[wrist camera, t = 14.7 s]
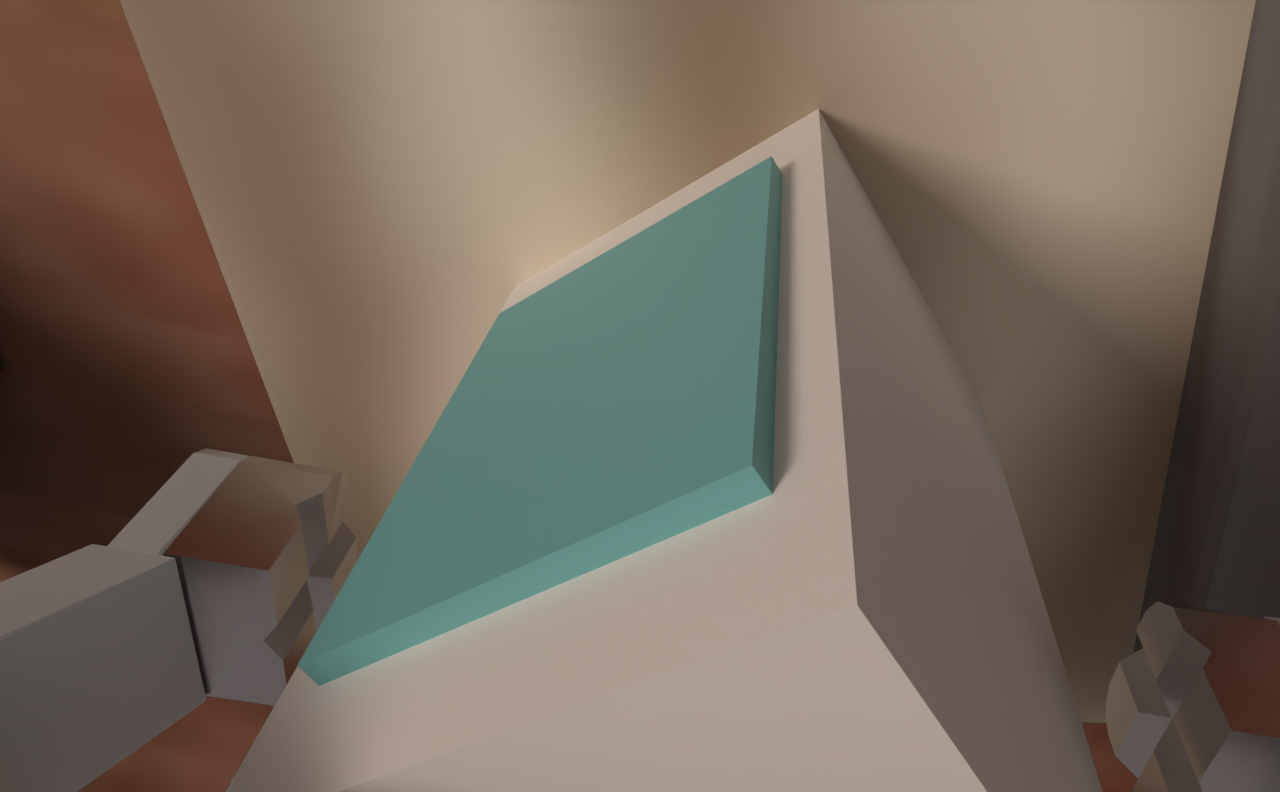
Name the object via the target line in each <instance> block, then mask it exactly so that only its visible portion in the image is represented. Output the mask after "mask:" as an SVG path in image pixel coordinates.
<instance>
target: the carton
mask: <svg viewBox="0 0 1280 792" xmlns="http://www.w3.org/2000/svg"><path fill="white" fill-rule="evenodd" d="M226 792H1103V791H1102V787H1101V784H1100V781H1099V778H1098V774H1097V771H1096V768H1095V765H1094V762H1093V758H1092V755H1091V752H1090V749H1089V746H1088V742H1087V739H1086V736H1085V733H1084V729H1083V726H1082V723H1081V720H1080V717H1079V713H1078V710H1077V707H1076V704H1075V700H1074V697H1073V694H1072V691H1071V688H1070V684H1069V681H1068V678H1067V675H1066V672H1065V668H1064V665H1063V662H1062V659H1061V655H1060V652H1059V649H1058V646H1057V643H1056V639H1055V636H1054V633H1053V630H1052V626H1051V623H1050V620H1049V617H1048V614H1047V610H1046V607H1045V604H1044V601H1043V598H1042V594H1041V591H1040V588H1039V585H1038V581H1037V578H1036V575H1035V572H1034V569H1033V565H1032V562H1031V559H1030V556H1029V553H1028V549H1027V546H1026V543H1025V540H1024V536H1023V533H1022V530H1021V527H1020V524H1019V520H1018V517H1017V514H1016V511H1015V507H1014V504H1013V501H1012V498H1011V495H1010V491H1009V488H1008V485H1007V482H1006V479H1005V475H1004V472H1003V469H1002V466H1001V462H1000V459H999V456H998V453H997V450H996V446H995V443H994V440H993V437H992V433H991V430H990V427H989V424H988V421H987V417H986V414H985V411H984V408H983V405H982V401H981V399H980V397H979V396H978V394H977V392H976V390H975V388H974V387H973V385H972V383H971V381H970V380H969V378H968V376H967V374H966V372H965V371H964V369H963V367H962V365H961V363H960V362H959V360H958V358H957V356H956V354H955V353H954V351H953V349H952V347H951V345H950V344H949V342H948V340H947V338H946V336H945V335H944V333H943V331H942V329H941V327H940V326H939V324H938V322H937V320H936V318H935V317H934V315H933V313H932V311H931V309H930V308H929V306H928V304H927V302H926V301H925V299H924V297H923V295H922V293H921V292H920V290H919V288H918V286H917V284H916V283H915V281H914V279H913V277H912V275H911V274H910V272H909V270H908V268H907V266H906V265H905V263H904V261H903V259H902V257H901V256H900V254H899V252H898V250H897V248H896V247H895V245H894V243H893V241H892V239H891V238H890V236H889V234H888V232H887V231H886V229H885V227H884V225H883V223H882V222H881V220H880V218H879V216H878V214H877V213H876V211H875V209H874V207H873V205H872V204H871V202H870V200H869V198H868V196H867V195H866V193H865V191H864V189H863V187H862V186H861V184H860V182H859V180H858V178H857V177H856V175H855V173H854V171H853V169H852V168H851V166H850V164H849V162H848V161H847V159H846V157H845V155H844V153H843V152H842V150H841V148H840V146H839V144H838V143H837V141H836V139H835V137H834V135H833V134H832V132H831V130H830V128H829V126H828V125H827V123H826V121H825V119H824V117H823V116H822V114H821V112H820V110H819V109H817V110H815V111H814V112H812V113H810V114H809V115H807V116H805V117H804V118H802V119H800V120H798V121H797V122H795V123H793V124H792V125H790V126H788V127H786V128H785V129H783V130H781V131H780V132H778V133H776V134H775V135H773V136H771V137H769V138H768V139H766V140H764V141H763V142H761V143H759V144H758V145H756V146H754V147H752V148H751V149H749V150H747V151H746V152H744V153H742V154H740V155H739V156H737V157H735V158H734V159H732V160H730V161H729V162H727V163H725V164H723V165H722V166H720V167H718V168H717V169H715V170H713V171H712V172H710V173H708V174H706V175H705V176H703V177H701V178H700V179H698V180H696V181H695V182H693V183H691V184H689V185H688V186H686V187H684V188H683V189H681V190H679V191H677V192H676V193H674V194H672V195H671V196H669V197H667V198H666V199H664V200H662V201H660V202H659V203H657V204H655V205H654V206H652V207H650V208H649V209H647V210H645V211H643V212H642V213H640V214H638V215H637V216H635V217H633V218H631V219H630V220H628V221H626V222H625V223H623V224H621V225H620V226H618V227H616V228H614V229H613V230H611V231H609V232H608V233H606V234H604V235H603V236H601V237H599V238H597V239H596V240H594V241H592V242H591V243H589V244H587V245H585V246H584V247H582V248H580V249H579V250H577V251H575V252H574V253H572V254H570V255H568V256H567V257H565V258H563V259H562V260H560V261H558V262H557V263H555V264H553V265H551V266H550V267H548V268H546V269H545V270H543V271H541V272H540V273H538V274H536V275H534V276H533V277H531V278H529V279H528V280H526V281H524V282H522V283H521V284H519V285H517V286H516V287H515V288H514V290H513V291H512V293H511V295H510V296H509V298H508V300H507V302H506V303H505V305H504V307H503V309H502V310H501V312H500V313H499V315H498V317H497V318H496V320H495V322H494V324H493V325H492V327H491V329H490V331H489V332H488V334H487V336H486V338H485V339H484V341H483V343H482V345H481V346H480V348H479V350H478V352H477V353H476V355H475V357H474V358H473V360H472V362H471V364H470V365H469V367H468V369H467V371H466V372H465V374H464V376H463V378H462V379H461V381H460V383H459V385H458V386H457V388H456V390H455V392H454V393H453V395H452V397H451V399H450V400H449V402H448V404H447V405H446V407H445V409H444V411H443V412H442V414H441V416H440V418H439V419H438V421H437V423H436V425H435V426H434V428H433V430H432V432H431V433H430V435H429V437H428V439H427V440H426V442H425V444H424V446H423V447H422V449H421V451H420V452H419V454H418V456H417V458H416V459H415V461H414V463H413V465H412V466H411V468H410V470H409V472H408V473H407V475H406V477H405V479H404V480H403V482H402V484H401V486H400V487H399V489H398V491H397V493H396V494H395V496H394V498H393V499H392V501H391V503H390V505H389V506H388V508H387V510H386V512H385V513H384V515H383V517H382V519H381V520H380V522H379V524H378V526H377V527H376V529H375V531H374V533H373V534H372V536H371V538H370V540H369V541H368V543H367V545H366V547H365V548H364V550H363V552H362V553H361V555H360V557H359V559H358V560H357V562H356V564H355V566H354V567H353V569H352V571H351V573H350V574H349V576H348V578H347V580H346V581H345V583H344V585H343V587H342V588H341V590H340V592H339V594H338V595H337V597H336V599H335V600H334V602H333V604H332V606H331V607H330V609H329V611H328V613H327V614H326V616H325V618H324V620H323V621H322V623H321V625H320V627H319V628H318V630H317V632H316V634H315V635H314V637H313V639H312V641H311V642H310V644H309V646H308V647H307V649H306V651H305V653H304V654H303V656H302V658H301V660H300V661H299V663H298V665H297V668H296V670H295V671H294V673H293V675H292V677H291V678H290V680H289V682H288V684H287V685H286V687H285V689H284V691H283V692H282V694H281V696H280V698H279V699H278V701H277V703H276V704H275V706H274V708H273V710H272V711H271V713H270V715H269V717H268V718H267V720H266V722H265V724H264V725H263V727H262V729H261V731H260V732H259V734H258V736H257V738H256V739H255V741H254V743H253V745H252V746H251V748H250V750H249V752H248V753H247V755H246V757H245V759H244V760H243V762H242V764H241V766H240V767H239V769H238V771H237V772H236V774H235V776H234V778H233V779H232V781H231V783H230V785H229V786H228V788H227V790H226Z"/></svg>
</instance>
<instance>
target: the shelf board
mask: <svg viewBox="0 0 1280 792" xmlns="http://www.w3.org/2000/svg"><path fill="white" fill-rule="evenodd" d="M120 2H121V5H122V8H123V10H124V13H125V16H126V18H127V21H128V24H129V26H130V29H131V32H132V34H133V37H134V39H135V42H136V45H137V47H138V50H139V53H140V55H141V58H142V61H143V63H144V66H145V69H146V71H147V74H148V77H149V79H150V82H151V85H152V87H153V90H154V93H155V95H156V98H157V101H158V103H159V106H160V109H161V111H162V114H163V117H164V119H165V122H166V125H167V127H168V130H169V132H170V135H171V138H172V140H173V143H174V146H175V148H176V151H177V154H178V156H179V159H180V162H181V164H182V167H183V170H184V172H185V175H186V178H187V180H188V183H189V186H190V188H191V191H192V194H193V196H194V199H195V202H196V204H197V207H198V210H199V212H200V215H201V218H202V220H203V223H204V225H205V228H206V231H207V233H208V236H209V239H210V241H211V244H212V247H213V249H214V252H215V255H216V257H217V260H218V263H219V265H220V268H221V271H222V273H223V276H224V279H225V281H226V284H227V287H228V289H229V292H230V295H231V297H232V300H233V303H234V305H235V308H236V310H237V313H238V316H239V318H240V321H241V324H242V326H243V329H244V332H245V334H246V337H247V340H248V342H249V345H250V348H251V350H252V353H253V356H254V358H255V361H256V364H257V366H258V369H259V372H260V374H261V377H262V380H263V382H264V385H265V388H266V390H267V393H268V396H269V398H270V401H271V403H272V406H273V409H274V411H275V414H276V417H277V419H278V422H279V425H280V427H281V430H282V433H283V435H284V438H285V441H286V443H287V446H288V449H289V451H290V454H291V457H292V459H293V462H294V463H296V464H301V465H307V466H312V467H318V468H323V469H329V470H334V471H340V472H343V473H344V474H345V475H346V476H347V477H349V478H350V483H351V490H352V498H353V505H352V507H351V509H350V510H349V512H348V514H347V515H346V517H345V519H344V520H343V522H344V523H345V524H346V526H347V527H348V528H349V529H350V530H351V532H352V533H353V534H354V535H355V537H356V541H357V555H358V556H357V560H358V559H359V557H360V555H361V553H362V552H363V550H364V548H365V547H366V545H367V543H368V541H369V540H370V538H371V536H372V534H373V533H374V531H375V529H376V527H377V526H378V524H379V522H380V520H381V519H382V517H383V515H384V513H385V512H386V510H387V508H388V506H389V505H390V503H391V501H392V499H393V498H394V496H395V494H396V493H397V491H398V489H399V487H400V486H401V484H402V482H403V480H404V479H405V477H406V475H407V473H408V472H409V470H410V468H411V466H412V465H413V463H414V461H415V459H416V458H417V456H418V454H419V452H420V451H421V449H422V447H423V446H424V444H425V442H426V440H427V439H428V437H429V435H430V433H431V432H432V430H433V428H434V426H435V425H436V423H437V421H438V419H439V418H440V416H441V414H442V412H443V411H444V409H445V407H446V405H447V404H448V402H449V400H450V399H451V397H452V395H453V393H454V392H455V390H456V388H457V386H458V385H459V383H460V381H461V379H462V378H463V376H464V374H465V372H466V371H467V369H468V367H469V365H470V364H471V362H472V360H473V358H474V357H475V355H476V353H477V352H478V350H479V348H480V346H481V345H482V343H483V341H484V339H485V338H486V336H487V334H488V332H489V331H490V329H491V327H492V325H493V324H494V322H495V320H496V318H497V317H498V315H499V313H500V312H501V310H502V309H503V307H504V305H505V303H506V302H507V300H508V298H509V296H510V295H511V293H512V291H513V290H514V288H515V287H516V286H517V285H519V284H521V283H522V282H524V281H526V280H528V279H529V278H531V277H533V276H534V275H536V274H538V273H540V272H541V271H543V270H545V269H546V268H548V267H550V266H551V265H553V264H555V263H557V262H558V261H560V260H562V259H563V258H565V257H567V256H568V255H570V254H572V253H574V252H575V251H577V250H579V249H580V248H582V247H584V246H585V245H587V244H589V243H591V242H592V241H594V240H596V239H597V238H599V237H601V236H603V235H604V234H606V233H608V232H609V231H611V230H613V229H614V228H616V227H618V226H620V225H621V224H623V223H625V222H626V221H628V220H630V219H631V218H633V217H635V216H637V215H638V214H640V213H642V212H643V211H645V210H647V209H649V208H650V207H652V206H654V205H655V204H657V203H659V202H660V201H662V200H664V199H666V198H667V197H669V196H671V195H672V194H674V193H676V192H677V191H679V190H681V189H683V188H684V187H686V186H688V185H689V184H691V183H693V182H695V181H696V180H698V179H700V178H701V177H703V176H705V175H706V174H708V173H710V172H712V171H713V170H715V169H717V168H718V167H720V166H722V165H723V164H725V163H727V162H729V161H730V160H732V159H734V158H735V157H737V156H739V155H740V154H742V153H744V152H746V151H747V150H749V149H751V148H752V147H754V146H756V145H758V144H759V143H761V142H763V141H764V140H766V139H768V138H769V137H771V136H773V135H775V134H776V133H778V132H780V131H781V130H783V129H785V128H786V127H788V126H790V125H792V124H793V123H795V122H797V121H798V120H800V119H802V118H804V117H805V116H807V115H809V114H810V113H812V112H814V111H815V110H817V109H819V110H820V112H821V114H822V116H823V117H824V119H825V121H826V123H827V125H828V126H829V128H830V130H831V132H832V134H833V135H834V137H835V139H836V141H837V143H838V144H839V146H840V148H841V150H842V152H843V153H844V155H845V157H846V159H847V161H848V162H849V164H850V166H851V168H852V169H853V171H854V173H855V175H856V177H857V178H858V180H859V182H860V184H861V186H862V187H863V189H864V191H865V193H866V195H867V196H868V198H869V200H870V202H871V204H872V205H873V207H874V209H875V211H876V213H877V214H878V216H879V218H880V220H881V222H882V223H883V225H884V227H885V229H886V231H887V232H888V234H889V236H890V238H891V239H892V241H893V243H894V245H895V247H896V248H897V250H898V252H899V254H900V256H901V257H902V259H903V261H904V263H905V265H906V266H907V268H908V270H909V272H910V274H911V275H912V277H913V279H914V281H915V283H916V284H917V286H918V288H919V290H920V292H921V293H922V295H923V297H924V299H925V301H926V302H927V304H928V306H929V308H930V309H931V311H932V313H933V315H934V317H935V318H936V320H937V322H938V324H939V326H940V327H941V329H942V331H943V333H944V335H945V336H946V338H947V340H948V342H949V344H950V345H951V347H952V349H953V351H954V353H955V354H956V356H957V358H958V360H959V362H960V363H961V365H962V367H963V369H964V371H965V372H966V374H967V376H968V378H969V380H970V381H971V383H972V385H973V387H974V388H975V390H976V392H977V394H978V396H979V397H980V399H981V401H982V405H983V408H984V411H985V414H986V417H987V421H988V424H989V427H990V430H991V433H992V437H993V440H994V443H995V446H996V450H997V453H998V456H999V459H1000V462H1001V466H1002V469H1003V472H1004V475H1005V479H1006V482H1007V485H1008V488H1009V491H1010V495H1011V498H1012V501H1013V504H1014V507H1015V511H1016V514H1017V517H1018V520H1019V524H1020V527H1021V530H1022V533H1023V536H1024V540H1025V543H1026V546H1027V549H1028V553H1029V556H1030V559H1031V562H1032V565H1033V569H1034V572H1035V575H1036V578H1037V581H1038V585H1039V588H1040V591H1041V594H1042V598H1043V601H1044V604H1045V607H1046V610H1047V614H1048V617H1049V620H1050V623H1051V626H1052V630H1053V633H1054V636H1055V639H1056V643H1057V646H1058V649H1059V652H1060V655H1061V659H1062V662H1063V665H1064V668H1065V672H1066V675H1067V678H1068V681H1069V684H1070V688H1071V691H1072V694H1073V697H1074V700H1075V704H1076V707H1077V710H1078V713H1079V717H1080V720H1081V722H1091V723H1107V722H1106V713H1105V711H1106V703H1107V694H1108V686H1109V683H1110V681H1111V679H1112V677H1113V675H1114V672H1115V670H1116V668H1117V666H1118V664H1119V661H1121V660H1123V659H1125V658H1126V657H1128V656H1130V655H1132V654H1134V653H1135V652H1137V651H1139V650H1141V649H1142V648H1143V646H1142V643H1141V641H1140V638H1139V636H1138V633H1137V631H1136V628H1137V627H1138V625H1139V623H1140V621H1141V619H1142V617H1143V615H1144V613H1145V612H1146V610H1148V609H1149V608H1150V607H1151V606H1152V605H1154V604H1155V603H1156V602H1157V601H1160V602H1167V603H1173V604H1180V605H1187V606H1193V607H1200V608H1206V609H1213V610H1219V611H1226V612H1233V613H1239V614H1246V615H1252V616H1258V617H1266V616H1267V617H1275V618H1280V0H120Z"/></svg>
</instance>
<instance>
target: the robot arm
mask: <svg viewBox="0 0 1280 792" xmlns="http://www.w3.org/2000/svg"><path fill="white" fill-rule="evenodd" d="M352 505H353V498H352V490H351V483H350V478H349V477H347V476H346V475H345V474H344V473H343V472H340V471H334V470H329V469H323V468H318V467H312V466H307V465H301V464H296V463H290V462H285V461H279V460H274V459H268V458H263V457H257V456H251V457H250V456H247V455H242V454H236V453H231V452H225V451H219V450H214V449H208V448H207V449H204V450H201V451H198V452H195V453H193V454H192V455H191V456H190V457H189V458H188V459H187V460H186V461H185V462H184V463H183V465H182V466H181V467H180V468H179V469H178V470H177V471H176V472H175V473H174V474H173V475H172V476H171V477H170V479H169V480H168V481H167V482H166V483H165V484H164V485H163V486H162V487H161V488H160V489H159V490H158V491H157V493H156V494H155V495H154V496H153V497H152V498H151V499H150V500H149V501H148V502H147V503H146V504H145V505H144V507H143V508H142V509H141V510H140V511H139V512H138V513H137V514H136V515H135V516H134V517H133V518H132V520H131V521H130V522H129V523H128V524H127V525H126V526H125V527H124V528H123V529H122V530H121V531H120V532H119V534H118V535H117V536H116V537H115V538H114V539H113V540H112V541H111V542H110V543H109V544H108V545H107V546H101V545H95V544H91V545H88V546H86V547H84V548H81V549H79V550H76V551H74V552H72V553H69V554H67V555H65V556H62V557H60V558H57V559H55V560H53V561H50V562H48V563H45V564H43V565H41V566H38V567H36V568H33V569H31V570H29V571H26V572H24V573H21V574H19V575H17V576H14V577H12V578H9V579H7V580H5V581H2V582H0V792H78V791H79V790H80V789H82V788H83V787H85V786H86V785H88V784H89V783H90V782H92V781H93V780H95V779H96V778H97V777H99V776H100V775H102V774H103V773H105V772H106V771H107V770H109V769H110V768H112V767H113V766H114V765H116V764H117V763H119V762H120V761H122V760H123V759H124V758H126V757H127V756H129V755H130V754H131V753H133V752H134V751H136V750H137V749H139V748H140V747H141V746H143V745H144V744H146V743H147V742H149V741H150V740H151V739H153V738H154V737H156V736H157V735H158V734H160V733H161V732H163V731H164V730H166V729H167V728H168V727H170V726H171V725H173V724H174V723H175V722H177V721H178V720H180V719H181V718H183V717H184V716H185V715H187V714H188V713H190V712H191V711H192V710H194V709H195V708H197V707H198V706H200V705H201V704H202V703H204V702H205V701H206V696H211V697H218V698H225V699H232V700H239V701H246V702H252V703H259V704H266V705H273V706H275V704H276V703H277V701H278V699H279V698H280V696H281V694H282V692H283V691H284V689H285V687H286V685H287V684H288V682H289V680H290V678H291V677H292V675H293V673H294V671H295V670H296V668H297V665H298V663H299V661H300V660H301V658H302V656H303V654H304V653H305V651H306V649H307V647H308V646H309V644H310V642H311V641H312V639H313V637H314V635H315V634H316V632H317V630H318V628H319V627H320V625H321V623H322V621H323V620H324V618H325V616H326V614H327V613H328V611H329V609H330V607H331V606H332V604H333V602H334V600H335V599H336V597H337V595H338V594H339V592H340V590H341V588H342V587H343V585H344V583H345V581H346V580H347V578H348V576H349V574H350V573H351V571H352V569H353V567H354V566H355V564H356V562H357V556H358V555H357V541H356V537H355V535H354V534H353V533H352V532H351V530H350V529H349V528H348V527H347V526H346V524H345V523H344V522H343V520H344V519H345V517H346V515H347V514H348V512H349V510H350V509H351V507H352ZM1136 631H1137V633H1138V636H1139V638H1140V641H1141V643H1142V646H1143V648H1142V649H1141V650H1139V651H1137V652H1135V653H1134V654H1132V655H1130V656H1128V657H1126V658H1125V659H1123V660H1121V661H1119V664H1118V666H1117V668H1116V670H1115V672H1114V675H1113V677H1112V679H1111V681H1110V683H1109V686H1108V694H1107V703H1106V711H1105V713H1106V722H1107V730H1108V735H1109V739H1110V742H1111V745H1112V748H1113V751H1114V754H1115V756H1116V757H1117V758H1118V759H1119V760H1120V761H1121V762H1122V763H1123V764H1124V765H1125V766H1126V767H1127V768H1128V769H1129V770H1130V771H1131V772H1132V773H1133V774H1134V775H1135V776H1136V777H1137V778H1138V779H1137V781H1136V783H1135V785H1134V787H1133V788H1132V790H1131V792H1280V618H1275V617H1267V616H1266V617H1258V616H1252V615H1246V614H1239V613H1233V612H1226V611H1219V610H1213V609H1206V608H1200V607H1193V606H1187V605H1180V604H1173V603H1167V602H1160V601H1157V602H1156V603H1155V604H1154V605H1152V606H1151V607H1150V608H1149V609H1148V610H1146V612H1145V613H1144V615H1143V617H1142V619H1141V621H1140V623H1139V625H1138V627H1137V628H1136Z"/></svg>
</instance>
